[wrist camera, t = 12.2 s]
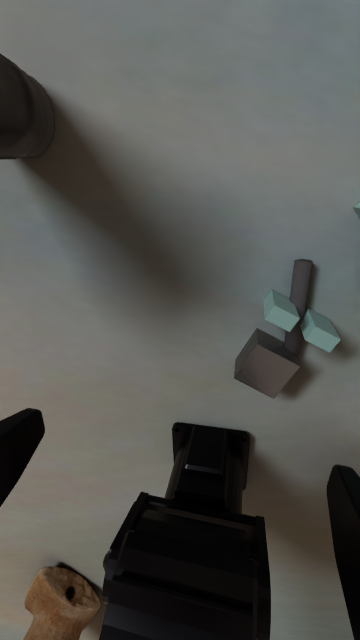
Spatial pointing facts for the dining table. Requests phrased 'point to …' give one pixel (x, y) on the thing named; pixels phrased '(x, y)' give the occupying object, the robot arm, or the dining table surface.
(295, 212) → the dining table surface
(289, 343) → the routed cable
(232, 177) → the dining table surface
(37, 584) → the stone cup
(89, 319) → the dining table surface
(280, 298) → the cable clips
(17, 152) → the beverage cup
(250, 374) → the brown grey short block
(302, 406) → the dining table surface
